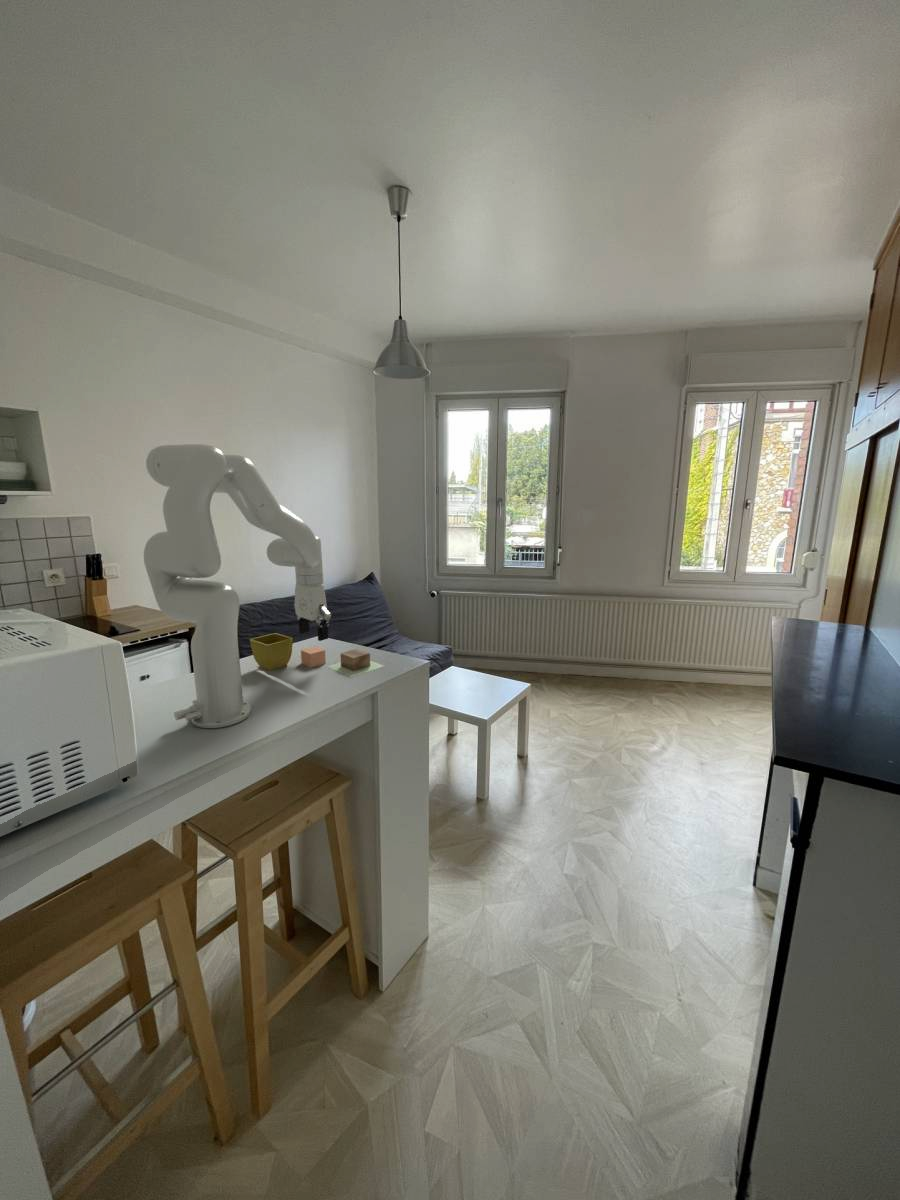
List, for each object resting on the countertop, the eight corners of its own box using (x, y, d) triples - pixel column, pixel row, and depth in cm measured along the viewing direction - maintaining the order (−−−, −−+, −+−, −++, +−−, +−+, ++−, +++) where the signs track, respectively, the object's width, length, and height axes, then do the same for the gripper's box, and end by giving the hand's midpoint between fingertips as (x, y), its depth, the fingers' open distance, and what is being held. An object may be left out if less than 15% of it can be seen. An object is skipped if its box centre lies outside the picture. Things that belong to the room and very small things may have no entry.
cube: (311, 670, 142) (310, 654, 141) (301, 666, 146) (300, 650, 145) (325, 666, 146) (325, 650, 145) (316, 661, 149) (315, 646, 148)
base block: (353, 671, 140) (353, 658, 139) (341, 666, 143) (340, 653, 143) (370, 666, 144) (369, 653, 143) (357, 661, 148) (357, 648, 147)
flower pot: (277, 660, 150) (275, 632, 148) (295, 666, 145) (293, 637, 143) (251, 668, 143) (248, 639, 141) (269, 675, 138) (267, 645, 136)
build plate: (351, 679, 136) (351, 677, 135) (326, 669, 143) (326, 666, 143) (384, 668, 144) (384, 665, 144) (359, 658, 152) (359, 656, 152)
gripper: (281, 577, 143) (286, 632, 147) (315, 585, 132) (319, 645, 136) (304, 573, 148) (308, 627, 153) (338, 581, 137) (342, 639, 142)
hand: (313, 635), depth 145 cm, fingers open, 9 cm apart
